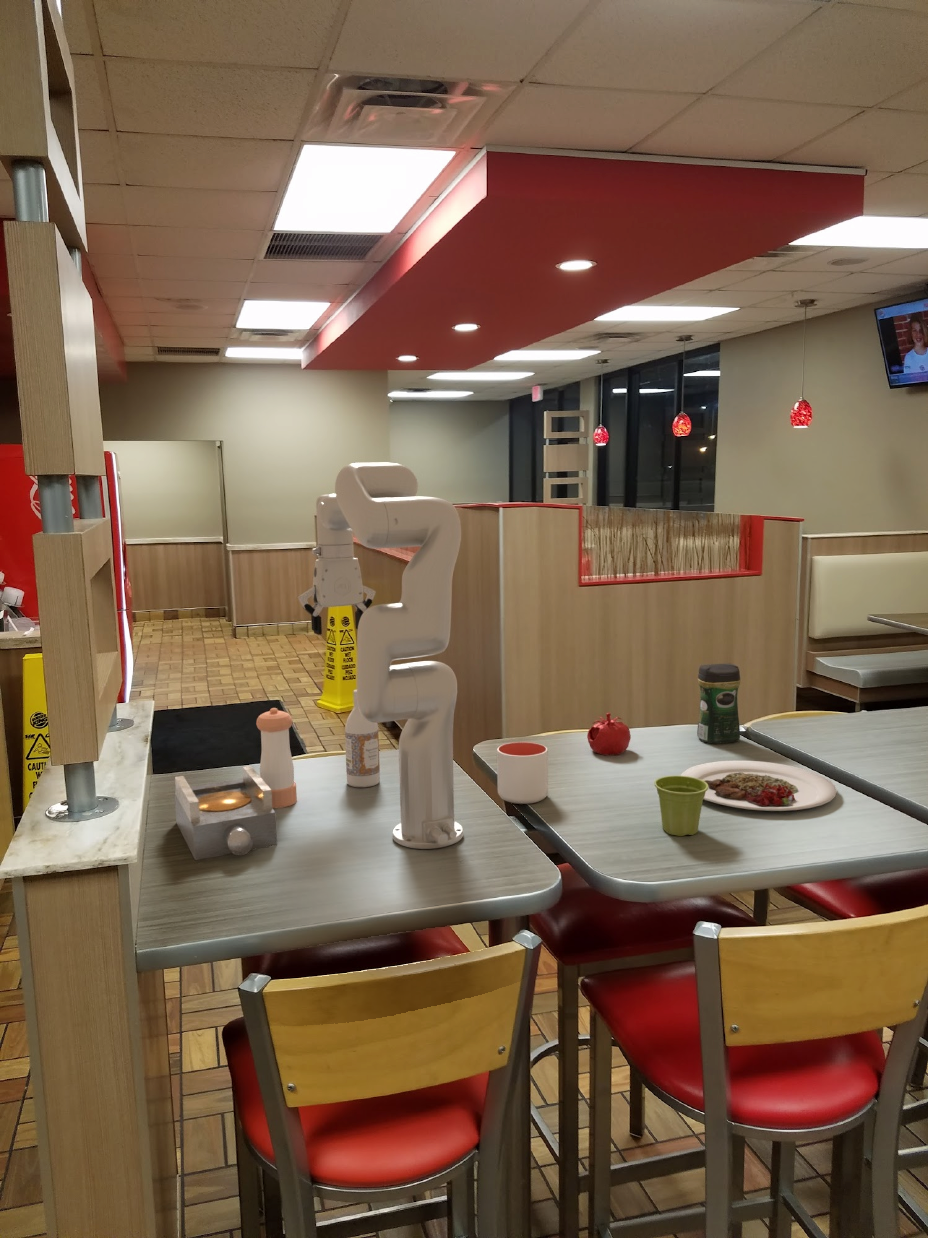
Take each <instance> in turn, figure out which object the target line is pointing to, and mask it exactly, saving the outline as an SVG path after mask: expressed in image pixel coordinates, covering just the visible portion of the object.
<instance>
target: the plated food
mask: <svg viewBox="0 0 928 1238" xmlns="http://www.w3.org/2000/svg"><path fill="white" fill-rule="evenodd" d="M679 776H688V777H694V778H697V779H700V780H703V781H705V782H706V783H707V784H708V790H707V791H706V792H705V796H704V798H703V801H706V802H707V801H708V802H711V803H714V804H717V805H723V806H727V807H731V808H736V809H745V810H751V811H752V810H753V811H754V810H755V811H762V812H763V811H766V812H770V811H771V812H777V811H779V812H782V811H783V812H784V811H797V810H798V811H799V810H806V809H811V808H815V807H820V806H823V805H825V804H827V803H829V802H831V801H832V800H833V799H835V798H836V794H837V788H836V787H837V786H836V785H835V784H834V783H833V782H832V781H831V780H829V779H828V778H826V777H825V776H823V775H820V774H818V773H815V772H813V771H811V770H808V769H805V768H800V767H797V766H793V765H789V764H784V763H783V764H782V763H778V762H777V763H776V762H768V761H759V760H757V761H756V760H719V761H713V762H705V763H702V764H697V765H694V766H691V767H689V768H687V769H686V770H683V772H682V773H681V774H680V775H679Z"/></svg>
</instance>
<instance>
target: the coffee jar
mask: <svg viewBox="0 0 928 1238" xmlns="http://www.w3.org/2000/svg"><path fill="white" fill-rule="evenodd" d="M697 683H698V685H699V689H700V701H699V702H700V704H699V712H698V713H699V714H698V720H697V732H696V733H697V738H698V739H699V740H700V741H701V742H702V743H708V744H728V743H735V742H738V741H739V740H740V738H741V728H740V719H739V706H738V705H739V704H738V692H739V688H740V685H741V674H740V668H739V666H738V665H735V664H733V663H728V662H727V663H714V664H713V663H711V664H703V665H700V666H699V669H698V676H697Z"/></svg>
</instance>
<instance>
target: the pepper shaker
mask: <svg viewBox="0 0 928 1238" xmlns="http://www.w3.org/2000/svg"><path fill="white" fill-rule="evenodd" d="M293 721H294V720H293V718H292V716H291V715H290V713H288V712H286V711H283V710H279V709H278V707H277V708H276V707H272V708H270V710H269V711H265V712H263V713H261V714H260V715H258V717H257V718H256V723H255V724H256V727H257V729H258V730H259V731H260V739H261V740H260V741H261V743H260V744H261V755H260V764H259V776H260V777H261V778H262V779H263V781H264V782H265V783H266V784H267V785H268V786H269V788H270V789H271V791H272V809H281V808H287V807H290V806H292V805H294V804H296V803H297V802H298V797H297V794H298V793H297V784H296V782H295V772H294V771H295V770H294V769H295V768H294V767H295V766H294V762H293V757H292V752H291V748H290V747H291V746H290V728H291V727H292V725H293Z"/></svg>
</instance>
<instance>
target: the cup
mask: <svg viewBox="0 0 928 1238" xmlns="http://www.w3.org/2000/svg"><path fill="white" fill-rule="evenodd" d="M548 752H549V749H548V747H546V746H545V745H543V744H541V743H536V742H531V741H530V742H529V741H528V742H527V741H526V742H525V741H520V742H519V741H517V742H515V741H514V742H508V743H504V744H501V745H500V746H498V747H497V749H496V755H497V756H496V760H497V761H496V763H497V766H496V767H497V768H496V769H497V776H496V777H497V794H498V796H499V797H500V798H501V799H502V800H504V801H505V802H508V803H512V804H519V805H523V804H524V805H527V804H528V805H530V804H534V803H539V802H540V801H543V800H544V799H545V798H546V797H547V796H548V794H549V775H548V774H549V770H548V769H549V762H548V761H549V757H548V756H549V755H548V754H549V753H548Z"/></svg>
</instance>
